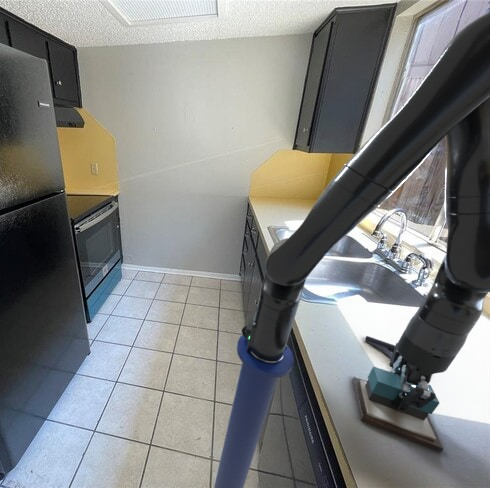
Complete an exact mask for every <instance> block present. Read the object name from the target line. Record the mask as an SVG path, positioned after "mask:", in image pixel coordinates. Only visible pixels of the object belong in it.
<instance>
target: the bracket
mask: <svg viewBox="0 0 490 488" xmlns="http://www.w3.org/2000/svg"><path fill="white" fill-rule="evenodd" d="M364 341H365V343H366V342H367V343H368V344H370V345H372V346H374V347H376V349H378V350H379V351H381V352H383V353H384V354H385V355H387V356H388V358H389V359H391V358H392V355H393V352H394V349H395V346H396V344H392V343H390V342H386V341H384V340H381V339H377V338H375V337H372V336H369V335H366V336H365V338H364ZM397 360H398V359H397ZM397 360H396V361H397Z"/></svg>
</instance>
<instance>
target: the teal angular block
mask: <svg viewBox="0 0 490 488" xmlns="http://www.w3.org/2000/svg"><path fill="white" fill-rule="evenodd" d="M400 378H401V375H398V374H395V373H392V372H390V371H389V370H385V369H384V368H379V367H377V366H372V368H371V370H370V372H369V374H368V376H367V380H366V381H367V383H366V385H365V387H366V391H367V395H368V399H369V400H371V401H373V402H376V403H379V404H381V405H384V406H387V407H389V408H392V409H393V407H392V403H393V401H394V400H395V398H396V396H397V395H398V394H399V391H400V388H401V385H400V384H399V381H400ZM406 383H407V384H410V385H413V386H418V385H414V384H411V383H408V382H407V381H406ZM428 388H429V391H432V392H434V393H435V391H434V388H433V387H432V385H431V384H428ZM409 392H410V390H406V393H407V394H408V393H409ZM439 405H440V401H439V399H438V397H437V396H436V397H435V399H434V400H432V401H431V402H429V403H428V404H426V405H425V406H423V407H422V408H421V409H419V408H416V407H414V406H411V405H410V406H409V407H408V409H407V410H406V412H403V413H405V414H408V415H411V416H413V417H416V418H419V419H421V420H425V419H426V417H427V416H428V415H429V414H430V415H432V414H433V413H434V412H435V410H436V409H437V408H438V406H439ZM395 410H396V409H395ZM397 411H398V410H397ZM400 412H401V411H400Z"/></svg>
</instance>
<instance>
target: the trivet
mask: <svg viewBox="0 0 490 488" xmlns="http://www.w3.org/2000/svg"><path fill="white" fill-rule="evenodd" d="M351 381H352V386H353V390H354V394H355V400H356V404H357V408H358V409H357V410H358V414H359V418H360V421H361V422H364V423H366V424H369V425H371V426H374V427H376V428H379V429H381V430H383V431H386V432H389V433H391V434H394V435H397V436H399V437H401V438H404V439H406V440H409V441H412V442H414V443H416V444H419V445H421V446H425V447H426V448H429V449H432V450H434V451H437V452H439V453H442V452H443V450H444V449H445V447H444V446H443V443H442V442H441V439H440V437H439V435H438V433H437V431H436V429H435V426H434V425H433V422H432V420H431V417H430V416H429V415H428V416H427V417H426V419H425V420H421V419H419V418H416V417H413V416H411V415H408V414H405V413H403V412H400V411H397V410H395V409H392V408H389V407H387V406H384V405H381V404H379V403H376V402H373V401H371V400H369V399H368V395H367V391H366V387H365V385H366V383H367V381H368V380H365V379H363V378H360V377H357V376H353V377H352V378H351Z"/></svg>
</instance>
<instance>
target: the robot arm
mask: <svg viewBox="0 0 490 488" xmlns="http://www.w3.org/2000/svg"><path fill="white" fill-rule="evenodd" d="M443 138H445V144H446V145H445V148H446V149H445V154H446V155H445V185H444V186H445V187H444V189H445V190H444V215H445V216H444V217H445V224H446V228H447V239H446V250H445V251H446V253H445V255H444V257H443V259H442V260H441V261H442V262H441V263H440V266H439V268H438V269H437V270H438V271H437V273H436V275H435V277H434V279H433V283H432V286H431V287H430V289H429V291H428V292H427V294H425V297H424V298H423V299H422V302H421V304H420V305H419V307H418V309H417V310H416V312H415V314H414V315H413V316H412V317H411V318H410V320H409V321H408V323H407V325H406V327H405V329H404V330H403V332H402V334H401V336H400V338H399V340H398V341H397V342H396V343H395V349H394V352H393V351H392V353H393V355H392V358H390V360H389V364H388V365H389V367H390V368H391V369H390V371H389V372H392V373H395V374H398V375H401V378H400V381H399V384H400V385H401V388H400V391H399V394H398V395H397V396H396V398H395V400H394V401H393V403H392V407H393V409H396V410H398V411H401V412H406V410H407V409H408V407H409V406H410V405H411V406H414V407H416V408H419V409H421V408H422V407H423V406H425V405H426V404H428V403H429V402H431V401H432V400H434V399H435V397H437V395H436V393H435V391H434V392H432V391H429V388H428V385H429V384H430V383H431V380H432V376H433V375H435V374H442V373H444V372H446V371H448V368H449V367H450V366H451V364H452V362H453V361H454V360H455V358H456V357H457V355H459V353H460V351H461V350H462V348H463V347H464V345H465V343H466V341H467V338H468V336H469V335H470V332H471V331H472V330H473V329H474V327H475V325H476V324H477V323H478V322H479V319H480V317H481V316H482V313H483V310H484V300H485V299H486V297H487V296H488V294H489V293H490V11H489V12H487V13H485V14H483V15H482V16H479V17H477V18H476V19H475V20H473V21H471V22H470V23H468V24H467V25H466V26H464V27H463V28H462V29H460V31H459V32H457V33H456V34H455V35H454V36H453V37H452V39H450V41H449V42H448V43H447V45H446V46H445V48H444V49H443V51H442V52H441V54H440V55H439V56H438V58H437V60H436V62H435V63H434V65H433V66H432V68H431V69H430V70H429V72H428V73H427V74H426V76H425V77H424V79H423V80H422V81H421V82H420V84H419V85H418V86H417V88H416V89H415V90H414V92H413V93H412V94H411V95H410V97H409V98H408V99H407V100H406V102H405V103H404V104H403V105H402V106H401V108H400V109H399V110H398V111H397V112H396V113H395V114H394V115H393V116H392V117H391V118H390V119H389V120H388V121H387V122H385V124H383V126H381V127H380V128H379V129H378V130H377V131H376V132H375V133H374V134H373V135H372V136H371V137H370V138H368V140H367V141H366V142H365V143H364V144H363V145H361V147H360V148H359V149H358V150H357V151H355V153H354V154H352V156H351V157H350V159H349V160H347V161H346V163H345V164H344V165H343V166H342V168H341V169H340V170H339V171H338V172H337V173H336V174H335V176H333V178H332V179H331V181H330V182H328V184H327V185H326V187H325V188H324V189H323V191H322V192H321V193H320V195H319V196H318V198H317V199H316V201H315V203H314V204H313V205H312V207H311V209H310V210H309V212H308V213H307V215H306V217H305V219H304V220H303V222H302V223H301V224H300V225H299V226H298V228H297V229H296V230H295V231H294V232H293V233H292V234H291V235H290V236H289V237H286V238H283V239H281V240H278V241H277V242H276V243H275V244H274V245H273V246H272V247H271V250H270V251H269V253H268V255H267V257H266V260H265V274H264V278H263V281H262V284H261V286H260V291H259V296H258V301H257V305H256V309H255V313H254V317H253V318H251V317H250V318H248V320H247V325H245V326H243V327H242V329H241V333H242V335H244V338H249V342H248V347H247V352H248V353H250V354H251V355H252V356H253V357H254V358H256V359H257V360H259V361H261V362H263V363H266V364H277V363H279V362H280V361H281V360H282V358H283V355H284V351H285V350H286V348H287V346H288V345H287V343H288V340H289V337H290V335H291V331H292V328H293V324H294V322H295V318H296V315H297V312H298V309H299V306H300V302H301V299H302V295H303V292H304V288H305V284H306V281H307V278H308V277H309V276H310V274H311V273H312V272H313V271H314V270H315V268H316V267H317V266H318V265H319V264H320V262H321V261H322V260H323V259H324V257H326V255H327V254H328V253H329V252H330V250H332V249H333V248H334V247H335V246H336V245H337V244H338V243H339V242H340V241H341V240H342V239H344V238H345V237H346V236H347V235H349V233H351V232H352V231H353V230H354V229H356V228H357V227H358V226H359V225H360V224H361V223H362V222H363V221H364V220H366V218H367V217H369V215H371V214H372V213H373V212H374V211H376V210H377V209H378V208H379V207H380V206H381V205H382V204H383V203H384V202H385V201H386V200H387V199H388V198H389V197H390V196H391V195H392V194H393V193H394V192H395V191H396V190H397V189H398V188H399V187H401V185H402V184H403V183H404V182H405V181H406V180H407V179H408V178H409V177H410V176H411V175H412V174H413V172H415V171H416V169H418V167H420V165H421V164H422V163H423V162H424V161H425V160H426V158H427V157H428V156H429V155H430V154H431V153H432V152H433V150H434V149H435V148H436V147H437V146H438V144H439V143H440V142H441V141H443ZM286 345H287V346H286ZM397 359H398V360H397ZM396 360H397V361H396ZM406 381H407V382H408V383H411V384H414V385H418V386H413V385H410V384H407V383H406ZM406 390H410V392H409V393H408V394H407V393H406Z"/></svg>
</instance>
